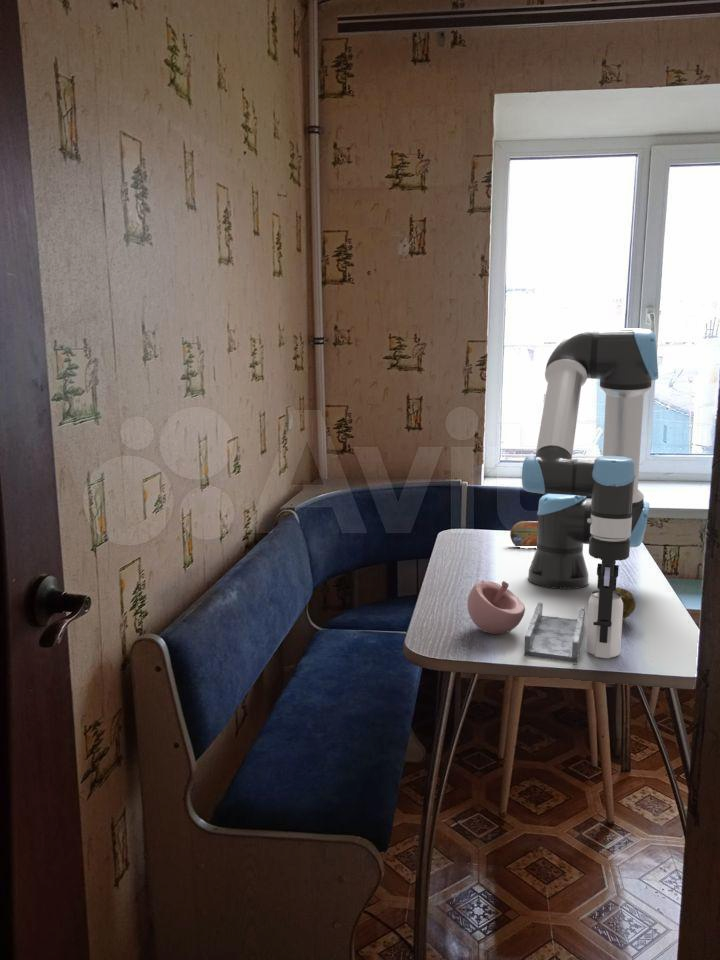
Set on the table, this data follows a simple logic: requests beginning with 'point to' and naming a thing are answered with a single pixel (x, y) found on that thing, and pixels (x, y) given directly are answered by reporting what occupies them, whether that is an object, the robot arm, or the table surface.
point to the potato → (626, 601)
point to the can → (615, 619)
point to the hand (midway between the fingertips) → (603, 650)
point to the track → (554, 636)
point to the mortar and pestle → (494, 607)
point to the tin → (524, 533)
